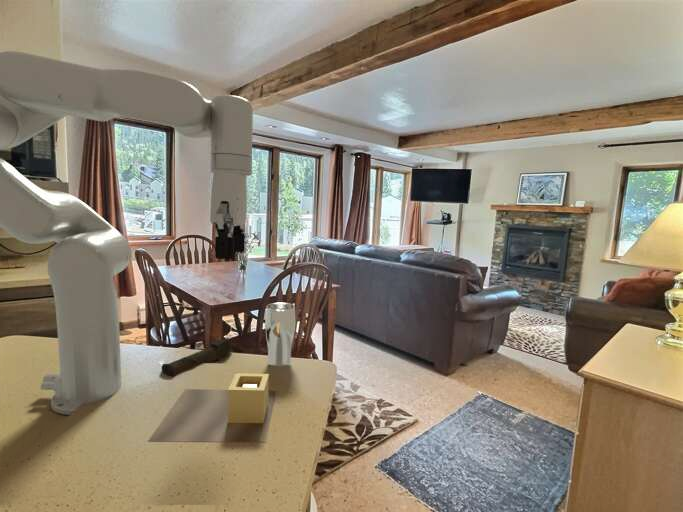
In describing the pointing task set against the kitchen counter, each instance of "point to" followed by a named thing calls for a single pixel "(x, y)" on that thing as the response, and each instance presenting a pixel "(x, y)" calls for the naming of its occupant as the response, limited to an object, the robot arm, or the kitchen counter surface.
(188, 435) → the post board
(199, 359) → the hand tool
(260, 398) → the collar
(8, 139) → the robot arm
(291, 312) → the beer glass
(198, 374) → the kitchen counter surface
